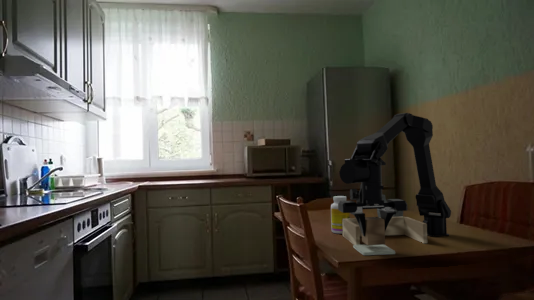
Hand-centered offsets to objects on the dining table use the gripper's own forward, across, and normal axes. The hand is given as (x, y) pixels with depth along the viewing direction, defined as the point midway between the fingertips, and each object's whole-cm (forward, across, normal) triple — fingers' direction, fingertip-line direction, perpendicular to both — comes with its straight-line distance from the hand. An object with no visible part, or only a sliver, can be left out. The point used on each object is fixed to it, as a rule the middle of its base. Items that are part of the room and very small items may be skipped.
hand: (373, 235), depth 107 cm
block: (+2, 0, 0) cm, 2 cm away
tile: (+4, 0, 0) cm, 4 cm away
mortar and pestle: (+5, -19, -34) cm, 39 cm away
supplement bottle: (+4, +2, -27) cm, 27 cm away
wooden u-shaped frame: (+4, -8, -12) cm, 15 cm away
